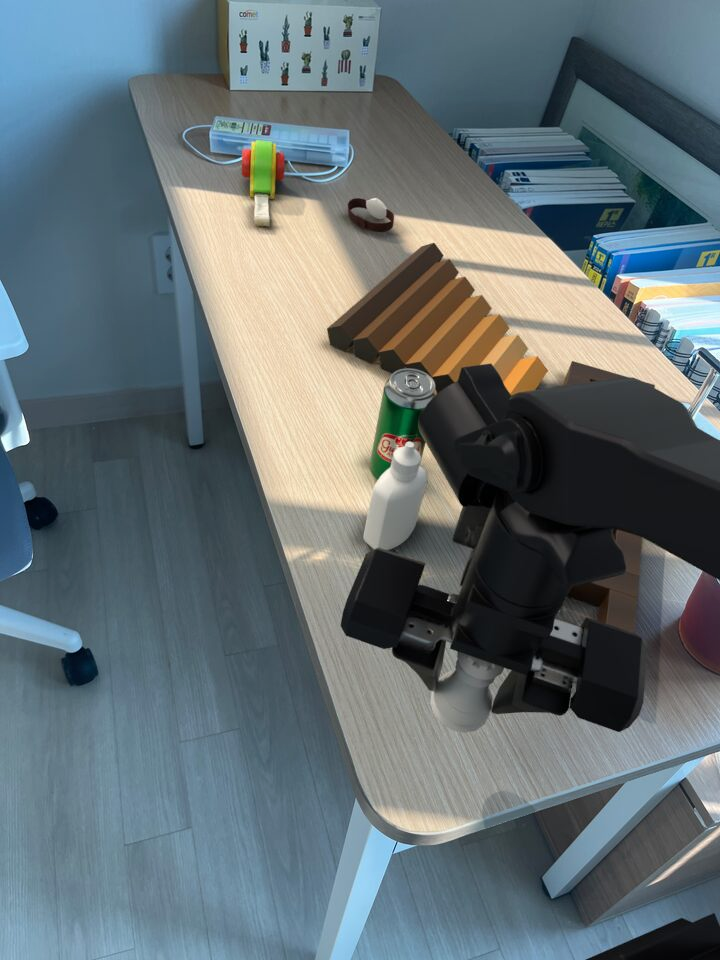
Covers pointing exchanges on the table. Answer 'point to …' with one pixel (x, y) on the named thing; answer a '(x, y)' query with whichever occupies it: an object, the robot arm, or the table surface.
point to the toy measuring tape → (262, 176)
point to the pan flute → (433, 326)
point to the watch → (375, 209)
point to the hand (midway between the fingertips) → (464, 696)
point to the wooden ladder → (622, 590)
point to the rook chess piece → (465, 694)
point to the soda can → (400, 416)
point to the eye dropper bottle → (396, 500)
